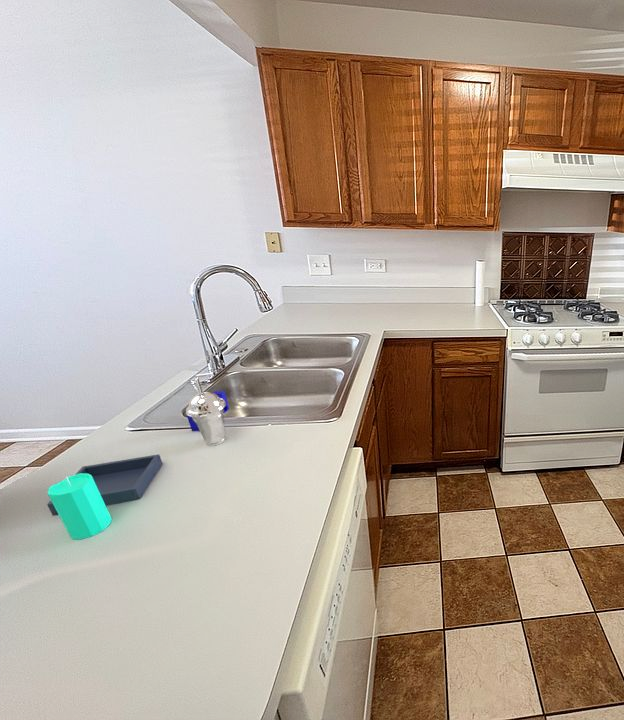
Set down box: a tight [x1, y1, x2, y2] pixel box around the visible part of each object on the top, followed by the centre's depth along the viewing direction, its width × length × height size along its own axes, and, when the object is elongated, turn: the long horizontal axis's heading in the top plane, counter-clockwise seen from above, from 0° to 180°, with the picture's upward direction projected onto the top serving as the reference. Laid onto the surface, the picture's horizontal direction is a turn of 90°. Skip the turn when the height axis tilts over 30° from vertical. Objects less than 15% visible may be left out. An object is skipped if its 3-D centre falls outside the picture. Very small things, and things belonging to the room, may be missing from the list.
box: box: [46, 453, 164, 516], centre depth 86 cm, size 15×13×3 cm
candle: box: [46, 473, 113, 540], centre depth 74 cm, size 6×6×12 cm
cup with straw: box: [185, 371, 227, 447], centre depth 99 cm, size 8×9×20 cm
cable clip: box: [185, 390, 230, 432], centre depth 112 cm, size 12×4×6 cm, turn 179°
